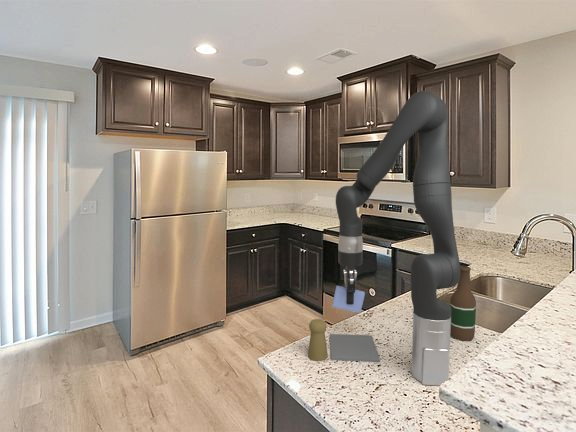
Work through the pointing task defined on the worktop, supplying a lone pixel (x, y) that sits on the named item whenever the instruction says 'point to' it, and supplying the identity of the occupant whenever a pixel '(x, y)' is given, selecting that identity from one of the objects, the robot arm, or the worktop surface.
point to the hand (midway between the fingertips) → (349, 302)
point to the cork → (317, 341)
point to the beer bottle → (463, 308)
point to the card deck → (341, 299)
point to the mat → (353, 348)
